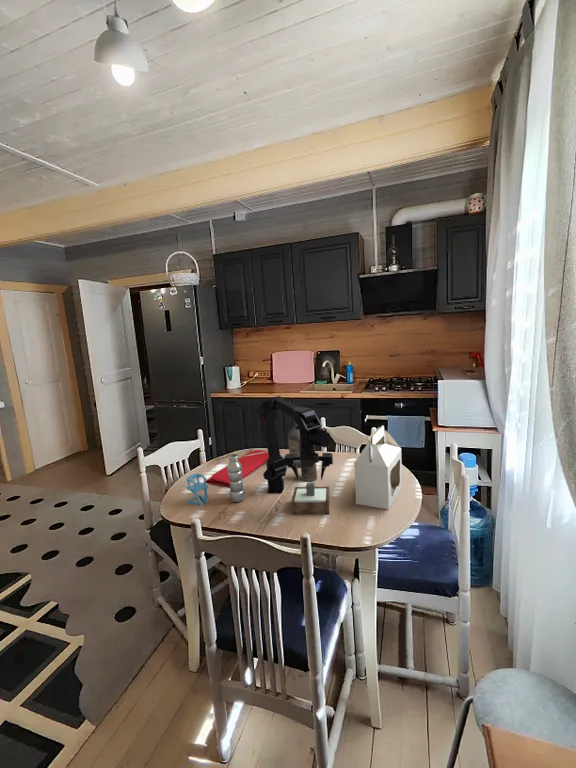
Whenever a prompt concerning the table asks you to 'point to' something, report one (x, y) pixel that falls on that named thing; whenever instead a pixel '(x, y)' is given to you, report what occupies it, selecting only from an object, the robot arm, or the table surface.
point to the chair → (197, 489)
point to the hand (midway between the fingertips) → (309, 479)
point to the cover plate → (311, 498)
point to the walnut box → (311, 504)
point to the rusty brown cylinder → (308, 470)
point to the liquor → (294, 442)
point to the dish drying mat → (248, 466)
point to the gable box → (378, 471)
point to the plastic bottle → (235, 479)
